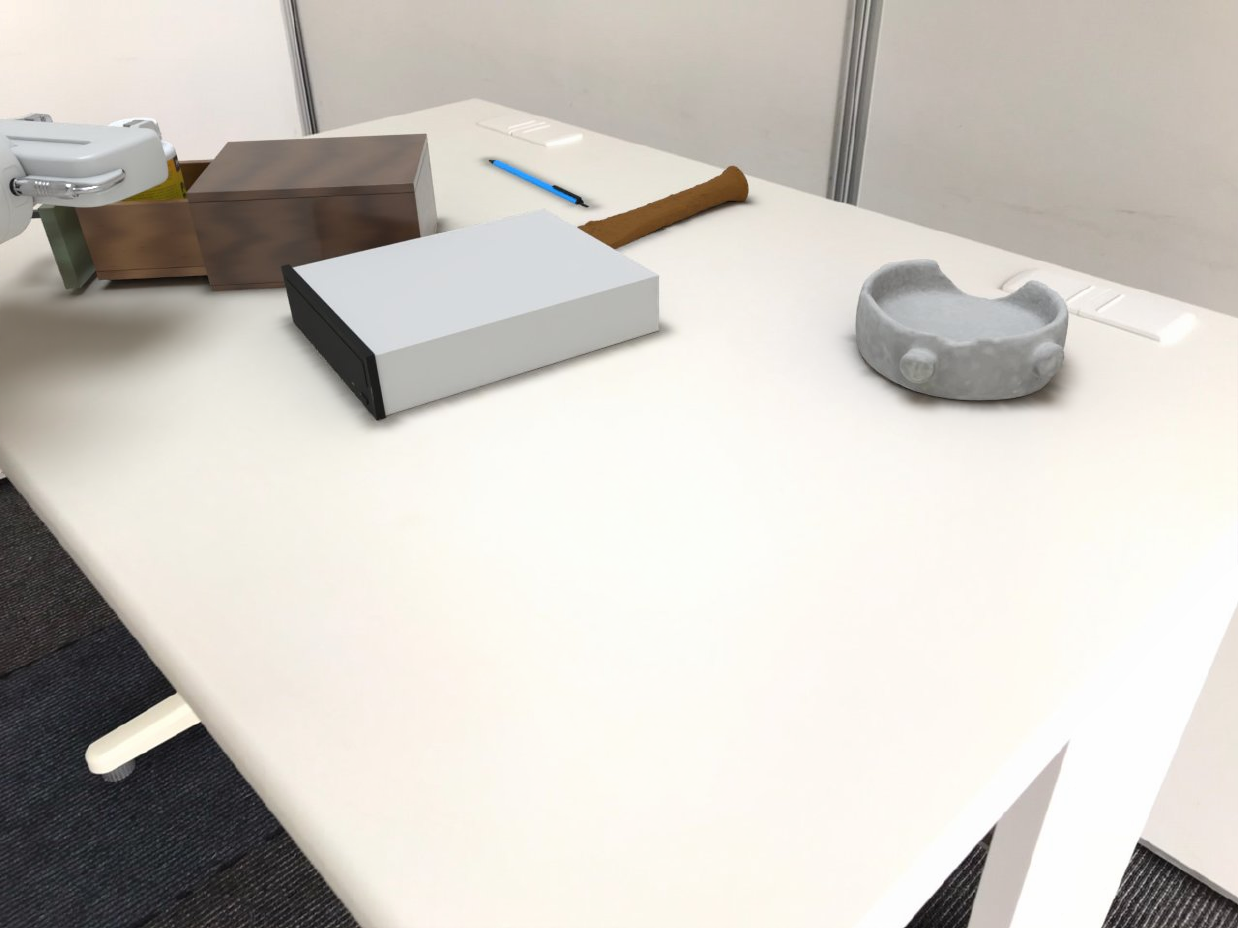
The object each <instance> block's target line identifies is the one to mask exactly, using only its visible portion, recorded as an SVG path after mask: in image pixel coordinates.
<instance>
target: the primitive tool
mask: <svg viewBox="0 0 1238 928" xmlns="http://www.w3.org/2000/svg"><path fill="white" fill-rule="evenodd" d="M749 192H750V189H749V183H748V179H747V177H746V175H745V174H744V172H743V171H742V170H741V169H740V168H739V167H737V166H736V165H729V166H728V167H727V168H726V169H724V170H723V171H722V172H721V174H719V175H716V176H714V177H712V178H710V179H709V180H707V181H704V182H702V183H699V184H695V185H694V186H692V187H690V188H686V189H683V190H681V191H679V192H676V193H674V194H673V193H671V194H669V195H668V196H666V197H664V198H661V199H658V200H655V201H652V202H649V203H647V204H645V205H642V206H639V207H636V208H633V209H630V210H627V211H625V212H621V213H618V214H615V215H612V216H608V217H606V218H604V219H598V220H597V219H596V220H589V221H587V222H586V223H584V224H583V225H578V226H576V227H577V228H579V229H580V230H582V231H584V232H585V233H587V234H589V235H591V236H592V237H594V238H596V239H597V240H599V241H601V242H603V243H604V244H606V245H608V246H610V247H611V248H613V249H615V250H616V249H619V248H621V247H624V246H625V245H627V244H630V243H633V242H634V241H637V240H638V239H640V238H642V237H645V236H647V235H649V234H651V233H653V232H655V231H658V230H660V229H662V228H664V227H667V226H670V225H673V224H674V223H677V222H679V221H682V220H685V219H688V218H690V217H692V216H694V215H696V214H698V213H700V212H704V211H706V210H707V209H711V208H713V207H716V206H720V205H722V204H724V203H727V202H740V203H741V202H744V201H746V200H747V199H748V197H749Z"/></svg>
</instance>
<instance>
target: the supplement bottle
mask: <svg viewBox="0 0 1238 928" xmlns="http://www.w3.org/2000/svg"><path fill="white" fill-rule="evenodd" d="M132 120H150V121H153V122H154V123H155V125H156V129H157V133H158V136H159V138H160V141H161V143H162V146H163V149H164V153H165V156H166V161H167V165H168V178H167V180H166V181H164V182H163V183H161V184H159V185H157V186H155V187H153V188H150V189H148V190H146V191H143V192H141V193H138V194H136V195H133V196H131V197H128V198H126V199H123V200H121V201H142V200H164V199H186V198H187V196H186V193H187V191H186V188H185V184H184V180H183V177H182V173H181V169H180V165H179V162H178V161H179V158H178V154H177V151H176V148H175V147H174V145H173V144H172V143H170V142H168V141H167V140H166V141H165V140H163V135H162V132H161V129H160V126H159V122H158V121H157V120H156V119H155V118H152V117H129V118H124V119H119V120H116V121H113V122H110V123H108V124H107V125H106V126H117V127H123V124H125V123H128V122H132ZM118 202H120V201H118Z"/></svg>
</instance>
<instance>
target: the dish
mask: <svg viewBox="0 0 1238 928" xmlns="http://www.w3.org/2000/svg"><path fill="white" fill-rule="evenodd" d="M1069 316H1070V315H1069V309H1068V305H1067V303H1066V301H1065V299H1064V297H1062V296H1061V295H1060V293H1058V291H1056V290H1054V289H1053V288H1051V287H1049V286H1048V285H1047V284H1045V283H1044V282H1041V281H1039V280H1035V279H1032V280H1029V281H1027V282H1026V283H1025V284H1024V285H1022V286H1020V287H1019V288H1018V289H1017V290H1015V291H1013V292H1012V293H1010V294H1008V295H1005V296H1002V297H997V298H996V297H995V298H990V299H989V298H986V297H980V296H977V295H976V296H975V295H972V294H968V293H966V292H965V291H962V289H960V288H959V287H958V286H957V285H956V284H955V283H954V282H953V281H952V280H951V279H950V278H949V277H948V276H947V275H946V274H945V273H944V272H943V271H942V269H941V268H940V265H939V263H938V261H936V260H934V259H929V258H928V259H927V258H919V259H917V258H916V259H909V260H901V261H892V262H891V261H890V262H887V263H885V264H883V265H881V266H880V267H879V268H878V269H876V270H875V271H874V272H873V273H871V274H870V275H869V276H868V277H866V279H865V280H864V282H863V284H862V286H861V289H860V293H859V296H858V300H857V305H856V312H855V336H856V342H857V343H856V344H857V347H858V350H859V352H860V354H861V356H862V358H863V359H864V361H866V363H867V364H868V365H869V366H870V367H872V369H874V370H875V371H876V372H877V373H879V374H880V375H882V376H884V377H885V378H887V379H888V380H889V381H892V382H893V383H895V384H898V385H900V386H902V387H904V388H906V389H908V390H911V391H913V392H917V393H921V394H925V395H928V396H931V397H932V396H933V397H937V398H943V399H950V400H960V401H961V400H962V401H996V400H999V401H1000V400H1007V399H1015V398H1020V397H1024V396H1028V395H1031V394H1033V393H1036V392H1037V391H1039V390H1042V388H1044V387H1045V386H1046V385H1047V384H1048V383H1049V382H1050V381H1051V380H1052V378H1053V377H1054V376H1055V375H1056V374H1057V373H1058V372H1059V371H1060V369H1061V368H1062V366H1063V363H1064V360H1065V350H1064V349H1065V345H1066V340H1067V335H1068V327H1069V318H1070V317H1069Z"/></svg>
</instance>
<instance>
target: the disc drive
mask: <svg viewBox="0 0 1238 928" xmlns="http://www.w3.org/2000/svg"><path fill="white" fill-rule="evenodd" d="M577 227H578V226H575V225H574V224H572V223H570V222H568V221H567V220H565V219H563V218H561V217H560V216H558V215H556V214H554V213H553V212H551V211H550V210H547V209H546V208H540V209H536V210H532V211H528V212H527V211H526V212H524V213H519V214H515V215H510V216H507V217H506V216H505V217H503V218H498V219H494V220H490V221H486V222H480V223H477V224H472V225H467V226H464V227H459V228H455V229H451V230H447V231H443V232H439V233H436V234H434V235H430V236H425V237H421V238H417V239H412V240H408V241H404V242H400V243H395V244H391V245H387V246H383V247H378V248H374V249H370V250H366V251H361V252H357V253H353V254H349V255H344V256H340V257H336V258H332V259H327V260H323V261H319V262H315V263H310V264H306V265H302V266H297V267H293V268H292V267H291V266H290V265H289V264H288V265H283V266H281V269H282V274H283V278H284V283H285V287H286V288H285V291H286V296H287V299H288V305H289V309H290V314H291V318H292V322H293V323H294V325H295V326H296V327H297V328H298V330H299V331H300V332H301V333H302V334H303V336H305V337H306V339H307V340H308V342H310V343H311V344H312V347H314V348H315V350H317V352H318V353H319V354H320V356H321V357H322V358H323V359H324V360H325V361H326V363H328V365H329V366H330V367H331V368H332V370H333V371H334V372H335V373H336V374H337V375H338V376H339V378H340V379H341V380H342V381H343V383H344V384H345V385H346V387H348V388H349V390H350V391H351V392H352V393H353V394H354V395H355V397H356V398H357V399H358V400H359V401H360V402H361V404H362V405H363V406H364V407H365V408H366V410H367V411H368V412H369V413H370V414H371V416H372V417H373V418H374V419H375V420H376V421H381V420H384V419H387V416H390V415H394V414H396V413H399V412H402V411H406V410H410V409H412V408H416V407H419V406H422V405H426V404H428V403H432V402H435V401H438V400H442V399H444V398H448V397H451V396H454V395H457V394H460V393H464V392H467V391H471V390H473V389H477V388H479V387H483V386H487V385H489V384H493V383H496V382H499V381H502V380H505V379H508V378H512V377H515V376H518V375H521V374H525V373H527V372H528V373H529V372H531V371H534V370H537V369H541V368H544V367H546V366H547V367H548V366H551V365H553V364H556V363H559V362H563V361H566V360H569V359H573V358H575V357H579V356H582V355H586V354H588V353H592V352H596V351H599V350H601V349H604V348H608V347H611V346H614V345H618V344H620V343H625V342H626V341H630V340H633V339H637V338H639V337H642V336H643V337H644V336H646V335H649V334H652V333H655V332H659V331H660V275H659V274H658V273H656V272H654V271H653V270H651V269H649V268H648V267H646V266H644V265H642V264H640V263H639V262H637V261H636V260H634V259H632V258H630V257H629V256H627V255H625V254H623V253H621V252H620V251H618V250H616V249H613V248H611V247H610V246H608V245H606V244H604V243H603V242H601V241H599V240H597V239H596V238H594V237H592V236H591V235H589V234H587V233H585V232H584V231H582V230H580V229H579V228H577Z"/></svg>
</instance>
